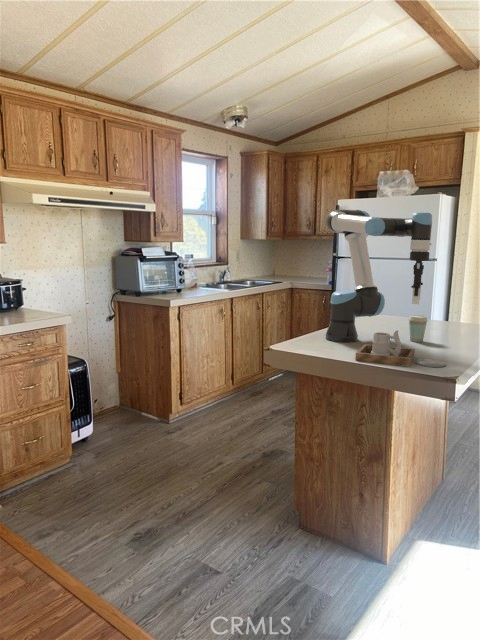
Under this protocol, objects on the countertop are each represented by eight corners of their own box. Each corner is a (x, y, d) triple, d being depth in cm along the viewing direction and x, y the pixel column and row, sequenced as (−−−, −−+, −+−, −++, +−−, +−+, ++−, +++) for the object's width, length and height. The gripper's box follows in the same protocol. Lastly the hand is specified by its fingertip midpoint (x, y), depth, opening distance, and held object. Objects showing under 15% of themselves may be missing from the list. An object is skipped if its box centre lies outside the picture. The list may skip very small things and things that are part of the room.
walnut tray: (355, 360, 190) (355, 352, 190) (364, 351, 207) (364, 344, 206) (409, 366, 182) (410, 358, 181) (414, 356, 198) (414, 349, 198)
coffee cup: (427, 343, 224) (429, 318, 222) (408, 342, 226) (410, 317, 224) (424, 339, 233) (426, 315, 231) (405, 338, 234) (407, 314, 232)
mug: (373, 354, 200) (375, 326, 199) (402, 358, 194) (404, 329, 192) (368, 358, 194) (369, 329, 192) (397, 362, 188) (399, 332, 186)
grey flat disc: (413, 365, 184) (413, 363, 183) (416, 359, 193) (416, 357, 193) (444, 368, 179) (445, 367, 179) (446, 362, 189) (446, 360, 189)
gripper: (429, 251, 185) (425, 306, 188) (429, 250, 208) (426, 299, 211) (408, 251, 187) (404, 305, 191) (411, 250, 210) (408, 298, 214)
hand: (416, 302), depth 201 cm, fingers open, 13 cm apart
